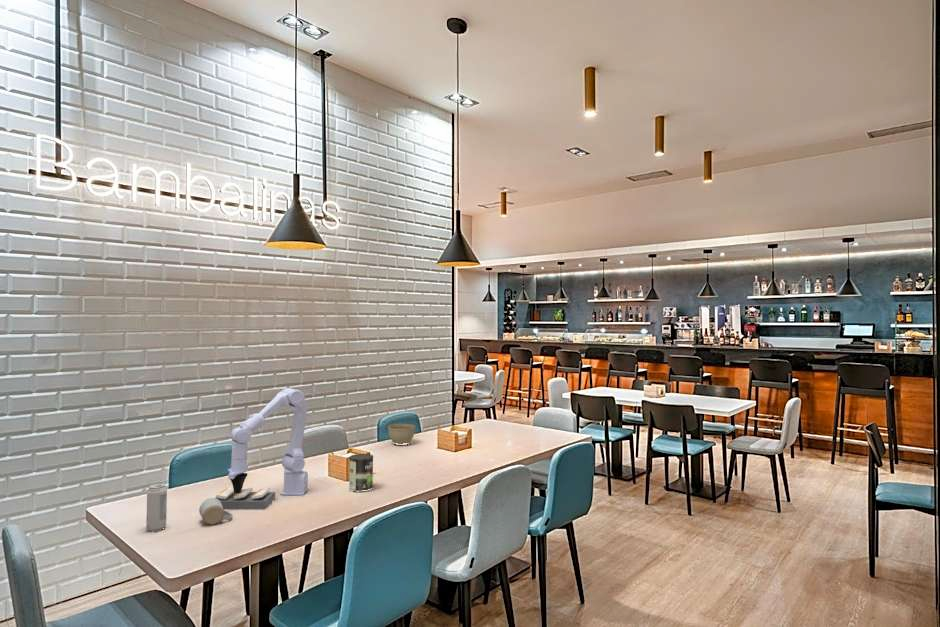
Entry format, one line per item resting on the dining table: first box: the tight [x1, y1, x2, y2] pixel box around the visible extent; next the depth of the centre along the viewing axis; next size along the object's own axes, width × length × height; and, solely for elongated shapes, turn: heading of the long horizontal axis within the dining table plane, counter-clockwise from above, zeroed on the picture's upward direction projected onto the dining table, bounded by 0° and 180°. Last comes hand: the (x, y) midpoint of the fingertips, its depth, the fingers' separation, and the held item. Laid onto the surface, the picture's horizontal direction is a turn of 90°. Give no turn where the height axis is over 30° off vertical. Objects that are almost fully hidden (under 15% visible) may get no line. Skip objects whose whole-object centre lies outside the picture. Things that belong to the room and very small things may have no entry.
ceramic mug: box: [198, 497, 234, 526], centre depth 198 cm, size 11×8×8 cm
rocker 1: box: [215, 487, 234, 499], centre depth 216 cm, size 4×9×1 cm, turn 1°
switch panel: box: [214, 491, 276, 510], centre depth 216 cm, size 21×12×3 cm, turn 91°
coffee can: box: [348, 453, 374, 491], centre depth 238 cm, size 10×10×14 cm
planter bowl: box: [387, 423, 416, 444], centre depth 325 cm, size 16×16×11 cm
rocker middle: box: [234, 487, 254, 499], centre depth 216 cm, size 4×9×1 cm, turn 2°
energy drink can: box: [145, 483, 168, 532], centre depth 190 cm, size 6×6×15 cm
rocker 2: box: [252, 487, 271, 499], centre depth 217 cm, size 4×9×1 cm, turn 2°
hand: (237, 492), depth 216 cm, fingers closed, pressing on rocker middle
